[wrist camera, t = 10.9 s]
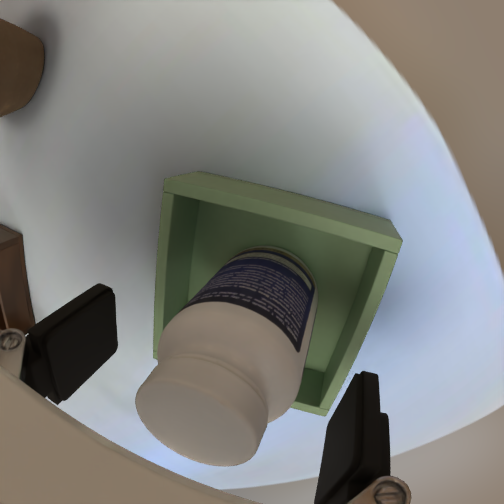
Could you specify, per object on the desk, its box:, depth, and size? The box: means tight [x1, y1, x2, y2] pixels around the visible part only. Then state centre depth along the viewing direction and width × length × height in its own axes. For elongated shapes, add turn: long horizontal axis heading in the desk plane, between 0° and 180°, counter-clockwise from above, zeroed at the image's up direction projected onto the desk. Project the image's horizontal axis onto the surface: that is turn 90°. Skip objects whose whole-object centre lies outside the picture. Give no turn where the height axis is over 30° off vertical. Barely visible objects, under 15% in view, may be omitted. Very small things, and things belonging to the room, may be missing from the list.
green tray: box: [153, 171, 403, 416], centre depth 16 cm, size 10×10×4 cm
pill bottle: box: [135, 246, 318, 466], centre depth 13 cm, size 5×5×10 cm
